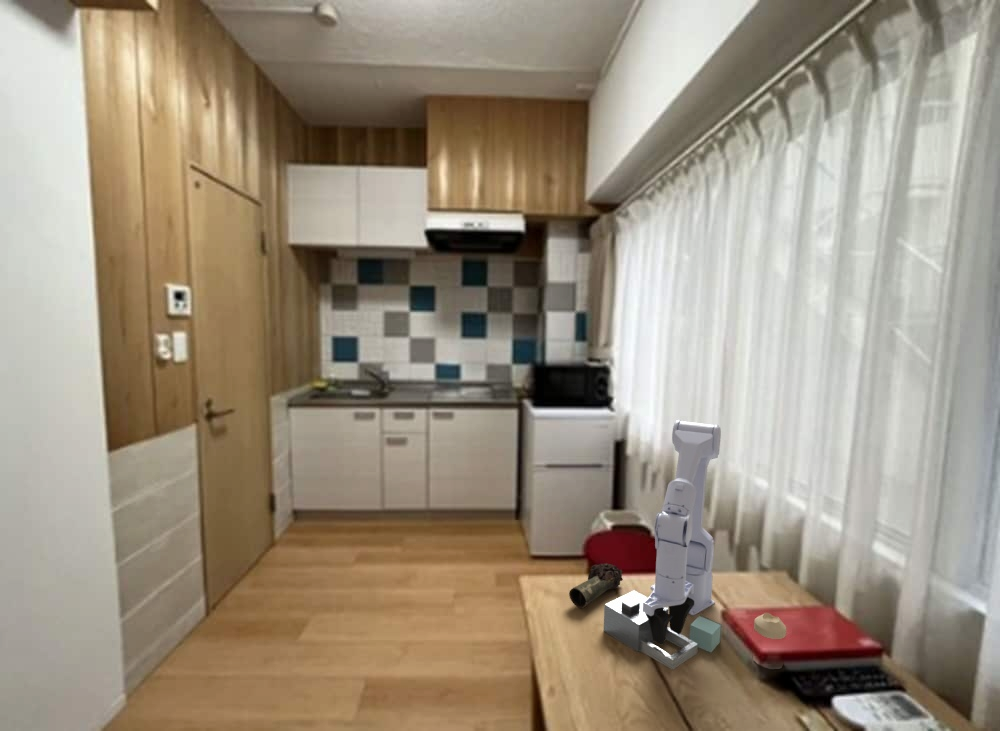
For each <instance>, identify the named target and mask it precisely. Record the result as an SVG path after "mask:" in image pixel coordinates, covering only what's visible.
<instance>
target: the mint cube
mask: <svg viewBox="0 0 1000 731" xmlns="http://www.w3.org/2000/svg"><path fill="white" fill-rule="evenodd" d="M722 625H723V624H722V623H720V622H717V621H715V620H713V619H710V618H708V617H705V616H703V615H701V614H699V616H698V617H696V618H695V620H694V621H692V623H690V626H689V639H690V640H692V641H694V642H695V643H697V644H698V648H699V649H700V650H701V649H702V650H704V651H706V652H708V653H712V652H713V651H714V650H715V649H716V647H718V645H719V644H720V643H721V638H722Z"/></svg>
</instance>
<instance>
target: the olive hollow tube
mask: <svg viewBox="0 0 1000 731" xmlns="http://www.w3.org/2000/svg"><path fill="white" fill-rule="evenodd" d="M589 571H590V572H589V573H588V576H587V580H585V581H583V582H582V583H580V584H577V585H576V586H574V587H572V588H571V589H570V590H569V593H568V595H569V599H570V601H571V602H572V604H574V605H575V606H576V607H577V608H579V609H584V608H585V607H587V606H588V605H589V604H590V603H592V602H593V601H595V600H596V599H597V598H598V597H600V596H601V595H602V594H604V593H605V592H607V591H608V590H611V589H618V587H619V586H621V581H623V577H622V576H623V570H622V569H619V568H618V566H616V565H613V564H610V563H599V564H593V565H592V566H591V567H590V570H589Z"/></svg>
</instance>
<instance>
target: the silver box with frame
mask: <svg viewBox="0 0 1000 731" xmlns="http://www.w3.org/2000/svg"><path fill="white" fill-rule="evenodd" d="M648 598H649V596H646V595H644V594H642V593H641V592H638V591H636V590H632V591H629V592H628V593H626V594H624V595H622V596H619V597H618V598H617V597H616V599H615V598H614V599H613V600H611V601H609V602H607V603H605V604H604V609H603V610H604V612H603V632H604V633H606V634H608V635H609V636H611V637H612V638H614V639H615V640H617V641H619V642H621V643H622V644H624V645H625V646H626V647H628V648H630V649H632V650H633V651H635V652H641V653H644V654H645V655H646V656H648V657H650V658H651V659H654V660H655V661H656V662H658V663H660V664H662V665H664V666H665V667H667V668H668V669H670V670H675V669H676V668H677V667H679V666H680V665H682V664H684V662H686V661H688V660H690V658H692V657H694V656H696V655H697V654H698V648H699V647H698V644H697V643H695V642H694V641H692V640H690V638H688V637H686V636H685V635H683V634H682V633H681V634H677V633H676V632H674V631H672V630H671V629H670V626H669V625H668V626H667V630H666V637H665V641H668V642H670V643H671V644H673V645H675V646H676V647H679V648H681V649H678V651H676V652H674V653H673V654H671V653H668V652H667V651H666V650H664V649H662V648H660V647H659V646H657V645H655V644H654V643H656V642H655V641H654V640H653V637H652V632H651V627H650V624H649V621H648V618H647V616H646V614H645V613H644V612H643V602H645V601H646V600H647V599H648ZM664 610H665V612H666V613H668V614H669V607H664Z"/></svg>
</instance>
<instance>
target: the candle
mask: <svg viewBox="0 0 1000 731" xmlns="http://www.w3.org/2000/svg"><path fill="white" fill-rule="evenodd" d="M753 622H754V626H753V630H754V629H755V631H757V632H758V633H759V634H761V635H762V636H764V637H767V638H771V639H782V638H784V637H785V636H786V637H787V626H786V625H785V624H784V622H783V621H782V620H781V619H780V617H779V616H774V615H772V614H771V613H769V612H764V613H763V614H761V615H757V617H755V618H754V621H753Z"/></svg>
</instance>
